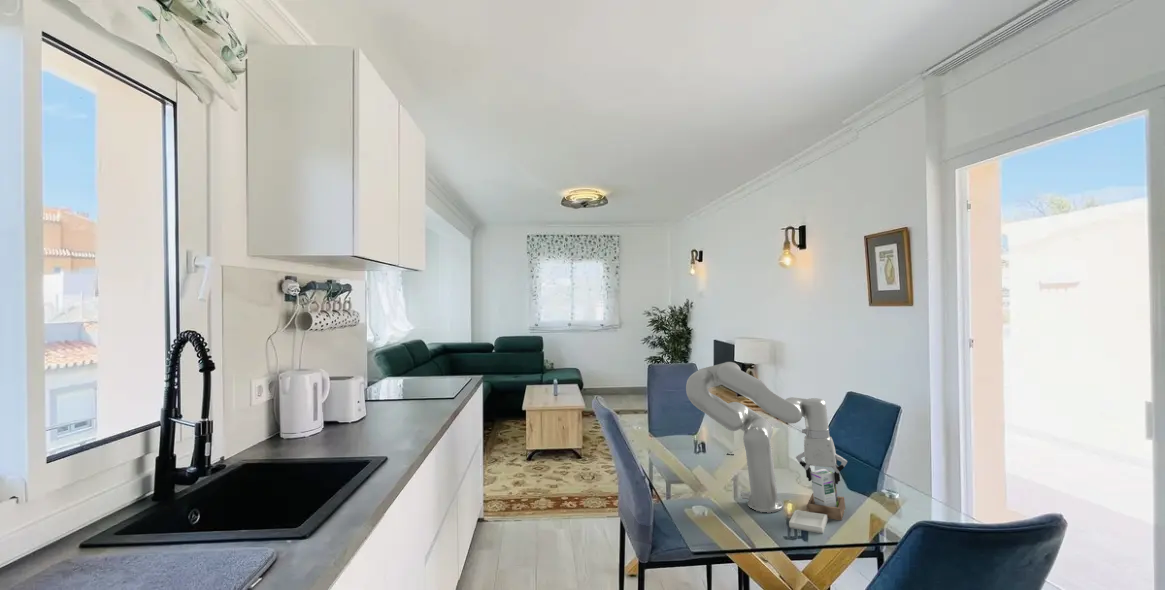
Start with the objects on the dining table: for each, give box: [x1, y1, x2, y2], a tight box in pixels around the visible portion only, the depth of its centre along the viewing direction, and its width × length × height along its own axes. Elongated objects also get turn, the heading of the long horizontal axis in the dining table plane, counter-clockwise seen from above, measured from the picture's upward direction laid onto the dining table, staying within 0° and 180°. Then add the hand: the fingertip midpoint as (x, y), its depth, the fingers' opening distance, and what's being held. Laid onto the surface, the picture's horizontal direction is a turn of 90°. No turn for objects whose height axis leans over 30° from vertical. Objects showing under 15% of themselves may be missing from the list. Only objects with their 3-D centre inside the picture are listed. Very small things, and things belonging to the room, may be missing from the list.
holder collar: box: [806, 492, 846, 521], centre depth 173 cm, size 11×11×4 cm
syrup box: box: [810, 468, 839, 508], centre depth 173 cm, size 6×6×14 cm
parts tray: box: [788, 509, 829, 534], centre depth 165 cm, size 10×10×2 cm
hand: (823, 481), depth 173 cm, fingers open, 8 cm apart
